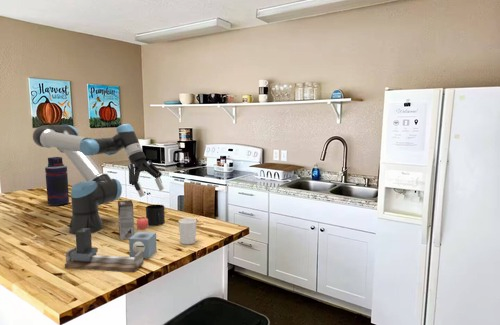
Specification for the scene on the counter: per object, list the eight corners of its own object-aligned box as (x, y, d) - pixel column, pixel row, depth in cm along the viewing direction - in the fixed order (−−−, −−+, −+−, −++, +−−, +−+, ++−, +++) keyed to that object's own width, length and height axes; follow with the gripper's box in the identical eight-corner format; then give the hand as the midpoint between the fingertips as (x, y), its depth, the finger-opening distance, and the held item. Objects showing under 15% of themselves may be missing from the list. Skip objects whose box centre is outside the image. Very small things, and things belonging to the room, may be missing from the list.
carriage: (71, 262, 128) (69, 232, 126) (80, 255, 134) (79, 227, 132) (89, 263, 127) (87, 233, 126) (97, 256, 133) (96, 228, 132)
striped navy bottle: (73, 203, 219) (70, 157, 215) (54, 207, 209) (50, 159, 205) (61, 200, 227) (58, 155, 223) (42, 204, 217) (38, 157, 213)
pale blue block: (129, 258, 136) (128, 239, 135) (138, 250, 145) (137, 231, 144) (148, 259, 136) (147, 240, 135) (156, 251, 144) (156, 232, 143)
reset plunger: (135, 229, 137) (134, 221, 137) (139, 226, 142) (139, 217, 141) (145, 230, 137) (145, 221, 136) (149, 226, 141) (149, 218, 141)
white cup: (180, 239, 158) (179, 218, 157) (197, 238, 159) (197, 217, 158) (178, 245, 151) (177, 223, 149) (196, 245, 151) (195, 223, 150)
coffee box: (119, 233, 165) (117, 200, 163) (133, 231, 168) (131, 199, 165) (119, 239, 157) (118, 205, 155) (134, 237, 159) (133, 204, 157)
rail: (63, 267, 128) (62, 253, 127) (76, 259, 135) (76, 245, 135) (135, 272, 124) (135, 257, 124) (144, 263, 132) (144, 249, 132)
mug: (150, 228, 173) (149, 211, 171) (144, 222, 183) (143, 205, 182) (168, 225, 177) (168, 208, 176) (161, 219, 188) (161, 203, 186)
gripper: (120, 153, 157) (138, 196, 155) (157, 147, 179) (174, 184, 177) (110, 160, 160) (128, 201, 159) (148, 153, 182) (164, 190, 181)
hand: (152, 192), depth 168 cm, fingers open, 13 cm apart
